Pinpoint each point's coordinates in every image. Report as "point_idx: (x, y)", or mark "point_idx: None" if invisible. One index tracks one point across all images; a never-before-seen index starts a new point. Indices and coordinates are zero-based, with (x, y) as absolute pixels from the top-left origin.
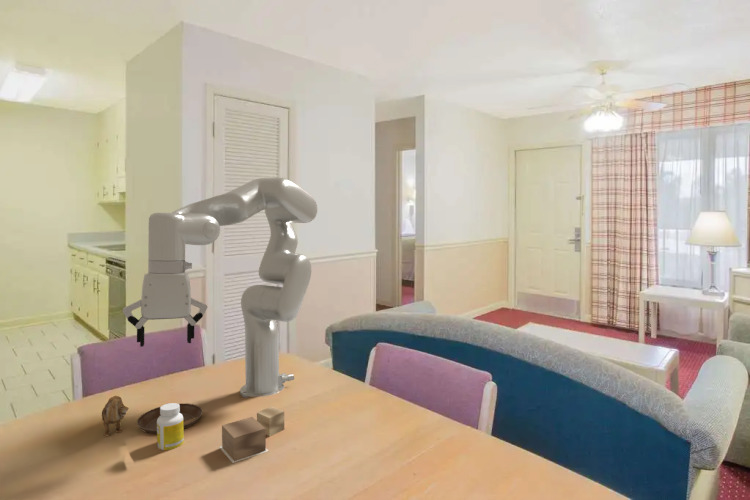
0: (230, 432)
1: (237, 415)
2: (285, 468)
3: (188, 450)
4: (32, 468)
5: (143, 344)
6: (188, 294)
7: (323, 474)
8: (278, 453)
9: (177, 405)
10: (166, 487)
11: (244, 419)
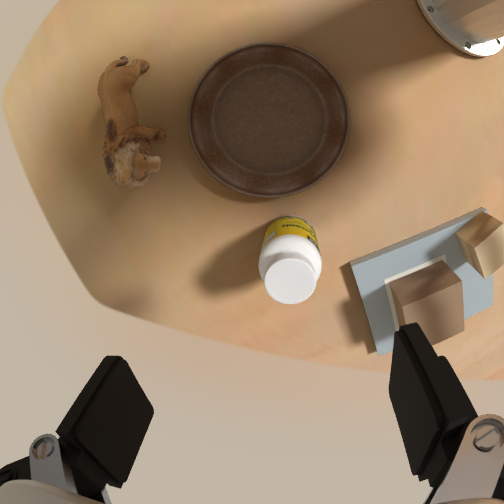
0: None
1: (422, 112)
2: None
3: (325, 252)
4: (85, 249)
5: (150, 416)
6: None
7: (480, 350)
8: None
9: (310, 281)
10: (299, 348)
11: (446, 289)
